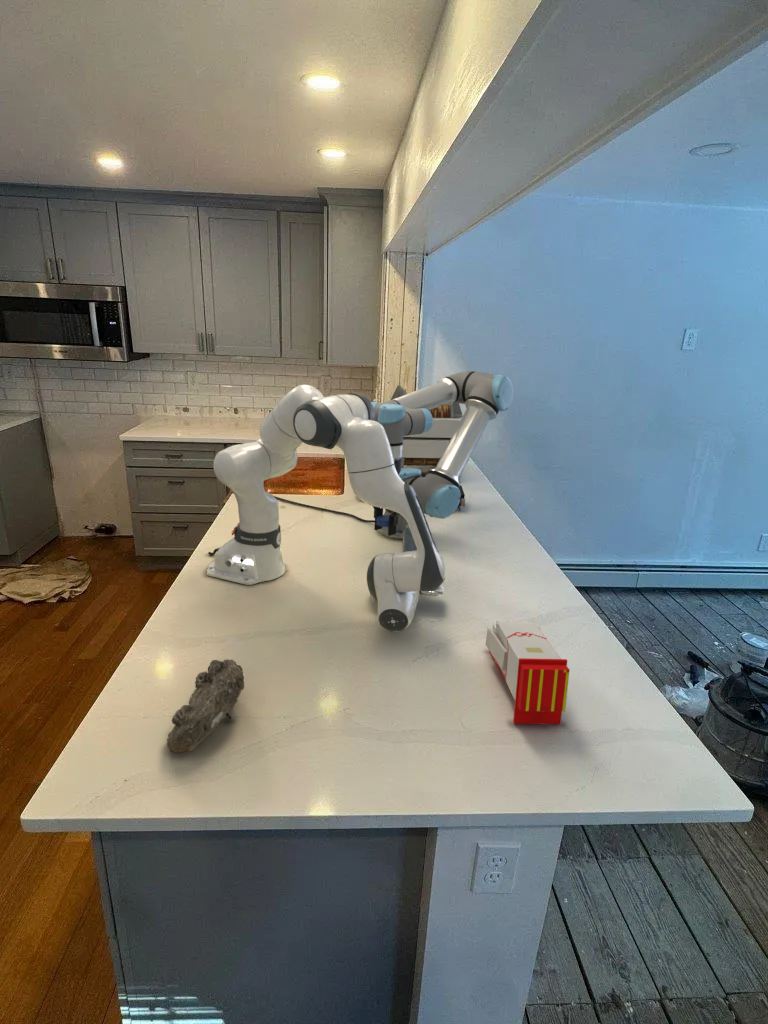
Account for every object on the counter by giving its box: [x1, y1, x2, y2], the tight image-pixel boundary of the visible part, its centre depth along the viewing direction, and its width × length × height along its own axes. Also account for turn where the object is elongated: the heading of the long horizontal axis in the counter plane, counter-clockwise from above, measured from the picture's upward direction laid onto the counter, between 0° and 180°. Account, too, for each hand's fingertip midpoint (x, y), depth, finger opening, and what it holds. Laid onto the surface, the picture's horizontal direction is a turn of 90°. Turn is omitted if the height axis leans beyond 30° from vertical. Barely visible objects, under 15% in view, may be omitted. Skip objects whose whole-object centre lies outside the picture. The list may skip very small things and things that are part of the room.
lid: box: [377, 514, 389, 527], centre depth 173 cm, size 5×5×2 cm
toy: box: [485, 620, 570, 725], centre depth 121 cm, size 12×13×30 cm
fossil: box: [166, 658, 245, 754], centre depth 106 cm, size 22×10×15 cm
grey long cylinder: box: [401, 524, 417, 552], centre depth 158 cm, size 5×5×19 cm
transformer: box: [390, 384, 463, 483], centre depth 268 cm, size 34×33×41 cm
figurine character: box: [457, 484, 466, 511], centre depth 229 cm, size 7×8×15 cm
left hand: (409, 568), depth 160 cm, fingers closed on grey long cylinder, 5 cm apart
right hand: (385, 531), depth 174 cm, fingers closed on lid, 5 cm apart
